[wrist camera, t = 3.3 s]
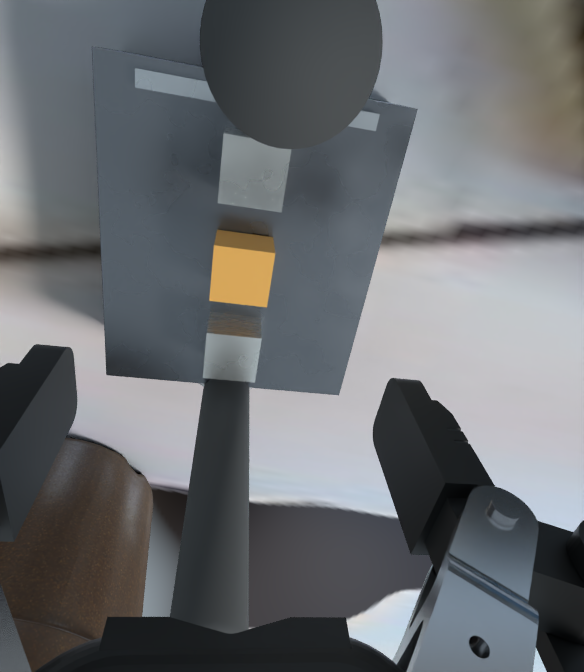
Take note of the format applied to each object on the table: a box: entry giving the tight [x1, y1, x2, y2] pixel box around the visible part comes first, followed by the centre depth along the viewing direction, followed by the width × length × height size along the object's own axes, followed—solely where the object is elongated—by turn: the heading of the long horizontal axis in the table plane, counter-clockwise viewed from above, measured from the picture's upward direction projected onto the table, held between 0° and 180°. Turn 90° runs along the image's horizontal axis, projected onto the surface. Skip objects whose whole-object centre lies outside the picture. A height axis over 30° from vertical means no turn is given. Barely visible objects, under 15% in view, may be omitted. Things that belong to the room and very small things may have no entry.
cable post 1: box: [170, 379, 251, 634], centre depth 21 cm, size 5×10×16 cm, turn 170°
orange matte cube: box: [209, 230, 275, 307], centre depth 19 cm, size 2×2×2 cm
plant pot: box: [0, 438, 153, 672], centre depth 25 cm, size 16×16×16 cm
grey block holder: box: [92, 47, 417, 395], centre depth 21 cm, size 12×14×6 cm
